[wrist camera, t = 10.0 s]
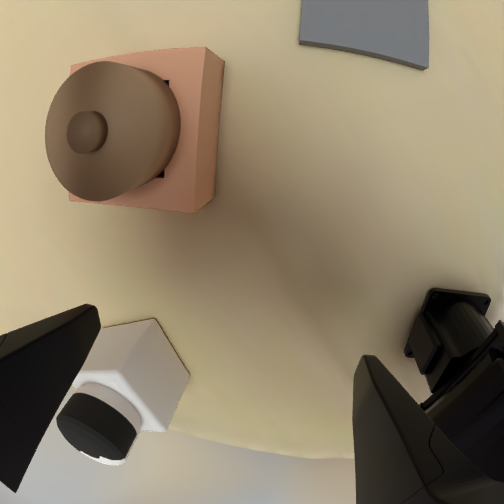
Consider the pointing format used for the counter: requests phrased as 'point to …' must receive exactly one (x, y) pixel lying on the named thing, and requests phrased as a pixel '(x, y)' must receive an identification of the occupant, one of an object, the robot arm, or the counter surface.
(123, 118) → the walnut lid
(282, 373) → the counter surface
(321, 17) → the coaster mat
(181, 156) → the salmon pink square box
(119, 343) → the medicine bottle
